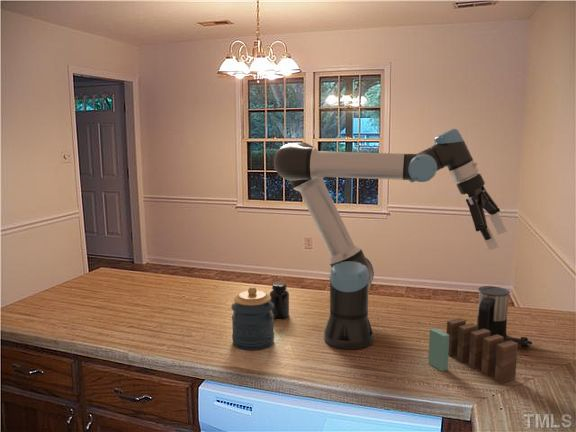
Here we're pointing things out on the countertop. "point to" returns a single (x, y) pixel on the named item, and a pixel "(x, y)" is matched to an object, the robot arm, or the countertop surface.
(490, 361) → the domino
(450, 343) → the domino
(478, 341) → the domino
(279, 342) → the countertop surface
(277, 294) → the supplement bottle
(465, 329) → the domino
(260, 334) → the canister
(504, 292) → the milk frother
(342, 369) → the countertop surface
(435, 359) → the domino
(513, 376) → the domino
